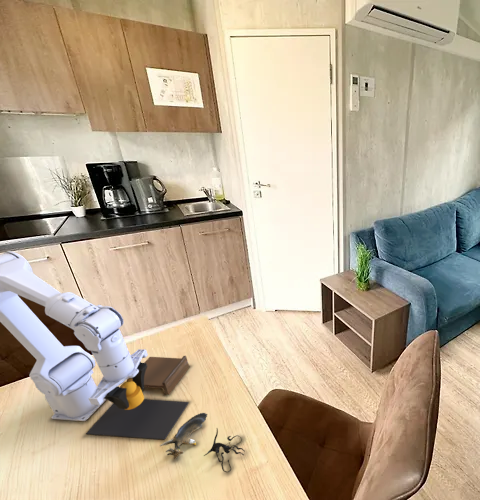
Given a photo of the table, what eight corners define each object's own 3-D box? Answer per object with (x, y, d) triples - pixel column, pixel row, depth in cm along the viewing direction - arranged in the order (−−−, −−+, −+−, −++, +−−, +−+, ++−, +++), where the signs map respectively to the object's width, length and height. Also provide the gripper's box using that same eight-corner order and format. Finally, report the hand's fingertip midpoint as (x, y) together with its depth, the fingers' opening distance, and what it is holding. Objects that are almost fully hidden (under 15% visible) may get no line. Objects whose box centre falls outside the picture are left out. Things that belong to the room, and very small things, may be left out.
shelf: (128, 392, 80) (123, 380, 78) (152, 364, 89) (148, 353, 87) (168, 394, 80) (164, 382, 78) (189, 367, 89) (186, 355, 87)
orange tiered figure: (118, 409, 69) (108, 389, 66) (132, 393, 73) (123, 374, 70) (135, 410, 69) (126, 391, 66) (148, 394, 73) (140, 375, 70)
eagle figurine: (197, 460, 63) (216, 417, 71) (170, 447, 60) (193, 404, 67) (176, 464, 66) (196, 423, 73) (150, 452, 63) (174, 410, 70)
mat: (86, 434, 69) (85, 433, 69) (119, 398, 78) (118, 397, 78) (164, 440, 68) (164, 439, 68) (188, 402, 77) (188, 401, 77)
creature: (250, 440, 69) (217, 434, 69) (251, 426, 67) (218, 420, 67) (237, 476, 62) (201, 470, 62) (239, 462, 60) (201, 456, 60)
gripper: (102, 385, 58) (124, 428, 64) (152, 336, 71) (166, 375, 77) (70, 383, 58) (94, 426, 64) (125, 335, 72) (141, 374, 77)
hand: (131, 398), depth 70 cm, fingers closed on orange tiered figure, 4 cm apart
